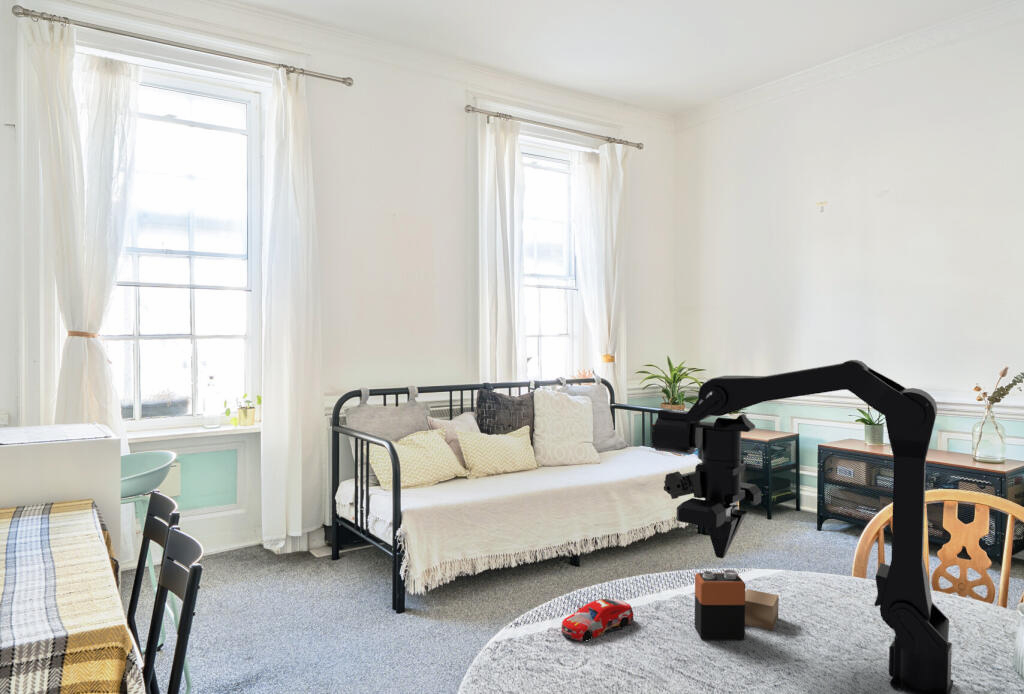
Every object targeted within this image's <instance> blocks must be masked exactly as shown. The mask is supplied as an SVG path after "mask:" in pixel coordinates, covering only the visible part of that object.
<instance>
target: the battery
mask: <svg viewBox="0 0 1024 694" xmlns="http://www.w3.org/2000/svg"><path fill="white" fill-rule="evenodd" d="M745 592H746V583H745V581H744V580H743V579H742V578H741V577H740V576H739V573H738V572H737V571H736V570H733V569H725V570H723V571H722V572H713V571H711V570H704V571H703V572H697V573H695V575H694V629H695V630H696V632H697V634H698V636H699V638H700V639H701V640H702V641H743V640H745V638H746V637H745V636H746V624H745Z"/></svg>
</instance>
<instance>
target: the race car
mask: <svg viewBox="0 0 1024 694" xmlns="http://www.w3.org/2000/svg"><path fill="white" fill-rule="evenodd" d="M577 609H578V610H577V611H576V612H574V613H572V614H571V615H569V616H566V617H565V618H564V619H563V620H562V622H561V634H562V635H563V636H564V637H566V638H568V639H570V640H575V641H580V642H584V641H586V640H588V641H590V640H589V639H591V640H592V638H593V639H595V638H596V637H599V636H602V635H605V634H607V633H611V632H613V631H615V630H619V629H621V628H622V629H623V627H624V628H626V627H625V626H627V627H628V625H630V624H632V623H633V621H634V611H633V608H632V605H631V604H629V603H627V602H625V601H623V600H621V599H616V598H615V599H613V598H612V599H611V598H600V599H598V600H597V599H596V600H593V601H591V602H590V601H589V603H587V604H585V605H583V606H582V607H580V606H579V607H577ZM582 640H583V641H582ZM586 642H587V641H586Z"/></svg>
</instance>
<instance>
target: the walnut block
mask: <svg viewBox="0 0 1024 694" xmlns="http://www.w3.org/2000/svg"><path fill="white" fill-rule="evenodd" d="M779 597H780V595H778V594H774V593H768V592H766V591H765V592H763V591H759V590H753V589H749V588H746V589H745V625H749V626H751V627H752V626H753V627H757V628H761V629H765V630H770V631H773V630H774V629H775V626H776V624H777V622H778V619H779V604H780V603H779V601H780V600H779Z"/></svg>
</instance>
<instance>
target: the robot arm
mask: <svg viewBox="0 0 1024 694" xmlns="http://www.w3.org/2000/svg"><path fill="white" fill-rule="evenodd" d="M845 390H847V391H848V392H850V393H851V394H853V395H855V396H856V397H857V398H859V399H860V400H861V401H863V402H864V403H865V404H867V405H868V406H869V407H871V408H872V409H874V410H875V411H876V412H878V413H879V414H881V415H882V416H884V418H885V425H886V430H887V434H888V435H887V437H888V441H889V444H890V445H889V446H890V448H891V454H892V457H893V481H892V482H893V483H892V484H893V485H892V518H891V519H892V522H891V523H892V527H891V529H892V530H891V560H890V565H889V564H886V563H883V562H880V563H879V566H878V568H877V571H876V574H875V584H876V589H877V595H876V596H875V597H876V598H875V601H874V605H873V606H875V607H878V606H879V612H880V617H881V619H882V621H883V622H885V624H886V625H887V626H888V627H889V628H890V629H891V630H893V632H894V634H895V635H894V638H893V640H892V642H891V643H890V646H889V648H888V651H889V652H888V653H889V654H888V675H889V676H890V678H891V679H890V681H889V686H890V687H892V688H894V689H897V690H899V691H903V692H907V693H909V694H951V692H952V689H953V686H954V680H953V679H952V648H953V645H952V642H950V641H949V634H950V632H949V630H950V618H948V617H947V616H946V615H945V614H944V613H943V612H942V610H940V608H938V606H937V605H936V604H935V603H934V602H933V599H932V591H931V588H930V581H929V576H928V572H927V567H926V564H925V559H924V558H925V557H924V548H925V547H924V546H925V545H924V543H925V541H924V539H925V530H924V529H925V510H926V509H925V504H926V503H925V502H926V498H925V497H926V474H927V473H926V472H927V471H926V469H927V468H926V467H927V465H926V464H927V457H928V456H927V455H928V450H929V448H930V443H931V439H932V436H933V435H932V434H933V431H934V426H935V422H936V419H937V415H938V406H937V403H936V400H935V398H933V396H932V395H931V394H930V393H928V392H927V391H925V390H923V389H920V388H915V387H910V388H907V387H905V386H903V385H902V384H900V383H898V382H897V381H894V380H893V379H891V378H889V377H887V376H885V375H884V374H882V373H879V372H878V371H876V370H874V369H873V368H871V367H869V366H868V365H867V364H866V363H865V362H863V360H862V361H861V360H858V359H850V360H846V361H844V362H842V363H841V362H840V363H836V364H830V365H825V366H823V365H822V366H818V367H812V368H811V367H810V368H806V369H800V370H794V371H788V372H783V373H782V372H781V373H777V374H771V375H770V374H769V375H764V376H763V375H722V376H718V377H713V378H710V379H707V380H706V381H704V382H703V383H702V384H701V385H700V387H699V389H698V396H697V397H698V399H697V400H696V401H695V402H694V403H693V405H692V406H691V408H690V409H689V410H688V411H679V410H672V409H667V408H663V409H660V410H658V411H657V418H656V420H655V424H654V427H653V431H652V432H651V439H652V445H653V449H654V450H655V451H657V452H665V453H674V454H684V455H693V454H694V452H695V451H696V449H697V450H698V449H700V448H701V446H702V449H701V450H702V451H701V456H702V457H701V462H699V463H697V465H695V468H694V469H695V470H694V471H690V472H685V473H680V471H679V470H677V471H675V472H669V473H667V474H665V479H664V480H663V483H664V486H663V490H664V491H665V492H666V493H667V494H668V495H670V498H671V500H675V499H678V498H679V497H682V496H688V495H692V494H693V497H691V498H688V499H687V500H684V501H683V502H681V503H679V505H678V506H677V507H676V521H677V522H680V523H685V524H690V525H695V526H700V527H705V528H706V530H707V532H708V534H709V539H710V541H711V545H712V548H713V551H714V554H715V557H716V558H719V559H724V558H725V557H726V555H727V554H728V551H729V549H730V547H731V544H732V543H733V541H734V539H735V537H736V535H737V533H738V531H739V529H740V527H741V525H742V523H743V521H744V520H745V517H746V516H747V514H748V511H747V510H742V509H739V508H740V507H739V505H738V504H737V503H738V502H740V501H742V500H744V501H750V502H749V503H750V504H751V506H757V505H759V504H761V503H762V490H761V489H760V488H759V486H758V485H757V484H755V483H748V482H742V481H741V480H742V479H741V475H742V474H741V473H743V472H745V471H746V463H741V462H742V459H741V457H742V432H744V433H749V432H751V431H753V430H755V429H756V425H755V424H754V423H753V422H752V421H751V420H749V418H748V417H747V416H746V414H744V413H741V414H739V415H737V418H733V417H732V418H731V417H721V416H725V415H728V414H731V413H734V412H738V411H740V410H742V409H746V408H749V407H752V406H755V405H757V404H758V405H759V404H760V403H763V402H770V401H776V400H777V401H778V400H782V399H783V400H784V399H790V398H796V397H803V396H804V397H805V396H809V395H819V394H824V393H831V392H837V391H845ZM710 417H717V418H716V419H715V421H714V422H709V421H703V420H705V419H708V418H710Z"/></svg>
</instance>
